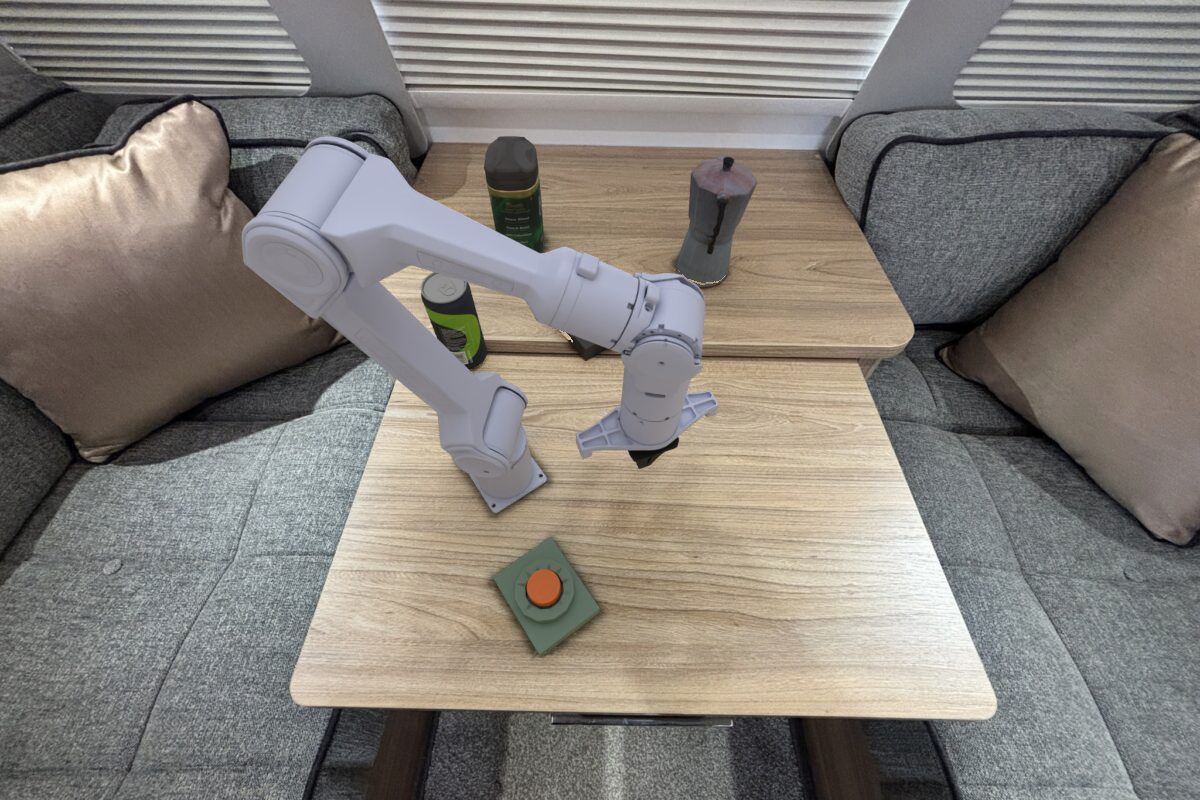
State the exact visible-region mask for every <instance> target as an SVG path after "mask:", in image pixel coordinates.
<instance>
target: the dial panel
mask: <svg viewBox="0 0 1200 800" xmlns="http://www.w3.org/2000/svg"><path fill="white" fill-rule="evenodd" d="M567 334H568V335H569V336H570V337H571V339H572V340H573V343H572V342H571V340H567V339H566V341H567V342H568V343H569V344H570V345H571V347H573V349H574V350H575V351H576V352H577V354H579V356H580V357H581V358H582V359H583V360H584V361H585V362H587V361H589V360H591V359H593V358H594V357H596V356H597V355H599V354H601V353H603V352H605V351H606V350H609V349H608V348H605V347H603V346H600V345H597V344H595V343H592V342H590V341H587V340H584V339H582V338H579V337H576V336H574V335H571V334H569V333H567Z"/></svg>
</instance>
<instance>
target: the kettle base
mask: <svg viewBox="0 0 1200 800" xmlns="http://www.w3.org/2000/svg"><path fill="white" fill-rule="evenodd" d="M542 569H547V570H550V571H552V572H554V573H555V574H556V575H557V576H558V578H559V581H560V585H561V593H560V596H559V598H558V599H557V601H556V602H555V603H554V604H552V605H550V606H547V607H540V606H537V605H536V604H534V603H533V602H532V601H531V599H530V597H529V595H528V593H527V582H528V580H529V578H530V576H531V575H532V574H533V573H534V572H536V571H538V570H542ZM492 579H493V581H494V582H495V584H496V586H497V588H498V589H499V591H500V593H501V594H502V596H503V597H504V599H505V601H506V602H507V604H508V606H509V607H510V609H511V611H512V613H513V614H514V615H515V618H516V619H517V621H518V622H519V625H520V626H521V627H522V629H523V630H524V633H525V634H526V636H527V637H528V639H529V641H530V642H531V645H532V646H533V647H534V649H535V651H536V652H537V654H538V656H539V657H540V658H543V656H545V655H547V654H548V653H549V652H550V651H551V650H553V649H555V647H557V646H558V645H559V644H561V643H562V642H563V641H565V640H566V639H567V638H569V637H570V636H571V635H572V634H574V633H575V632H577V631H578V630H579V629H580V628H582V627H583V626H584V625H586V624H587V623H588V622H590V621H591V620H592V619H594V618H595V617H596V616H598V615H599V614H600V613H601V608H600V606H599V605H598V603H597V602H596V600H595V599H594V597H593V596H592V594H591V593H590V591H589V590H588V588H587V587H586V586H585V584H584V582H583V581H582V579H581V578H580V577H579V575H578V574H577V572H576V571H575V569H574V568H573V567H572V564H570V562H569V561H568V559H567V558H566V556H565V555H564V554H563V552H562V551H561V549H560V547H559V546H558V545H557V543H556V541H555V540H554V539H553V537H552V536H551V537H548V538H547V539H545V540H544V541H543V542H542V543H540V544H538V545H537V546H535V547H534V548H532V549H531V550H529V551H528V552H527V553H525V554H524V555H522V556H521V557H519V558H518V559H516V560H514V561H513V562H512V563H511V564H508V566H506V567H504V568H503V569H502V570H500V571H499V572H497V573H496V574H494V575H493V576H492ZM545 652H546V653H545Z"/></svg>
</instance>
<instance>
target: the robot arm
mask: <svg viewBox="0 0 1200 800" xmlns="http://www.w3.org/2000/svg"><path fill="white" fill-rule="evenodd" d="M241 245H242V246H241V247H242V258H243V259H242V260H243V264H244V265H245V266H246V267H248V268H249V269H250V270H251V271H253V272H254V273H255V274H256V275H257V276H259V277H260V278H261V279H262V280H263V281H264V282H266V283H267V284H268V285H269V286H271V287H272V288H273V289H275V290H276V291H277V292H278V293H279V294H281V295H282V296H283V297H285V298H286V299H287V300H288V301H290V302H291V303H292V304H293V305H294V306H296V307H297V308H298V309H300V310H301V311H302V312H303V313H305V315H307V316H309V317H310V318H312V319H313V320H314V319H318V318H321V319H323V321H325V322H326V323H328V324H329V325H330V326H331V327H332V328H334V329H335V330H336V331H337V332H338V333H339V334H341V335H342V336H343V337H344V338H345V339H347V340H348V341H349V342H350V343H352V344H353V345H354V346H355V347H357V348H358V349H359V350H360V351H362V352H363V353H364V354H365V355H367V356H368V357H369V358H370V359H371V360H373V361H374V362H375V363H376V364H377V365H378V366H380V368H382V369H384V371H386V372H387V373H388V374H389V375H391V377H393V378H394V379H396V381H398V382H399V383H400V384H402V385H403V386H404V387H405V388H406V389H408V390H409V391H410V392H411V393H412V394H414V395H415V396H416V397H417V398H418V399H420V400H421V401H423V402H424V403H425V404H426V405H427V406H428V407H429V408H430V409H432V410H433V411H434V412H436V415H437V423H438V435H439V445H440V448H441V449H442V450H444V451H445V452H446V453H448V454H449V456H450V457H451V460H452V461H453V463H454V464H455V465H456V466H457V468H458V469H460V470H461V471H463V472H464V473H467V474H468V476H469V477H470V479H471V480H472V482H473V484H474V485H475V487H476V488H477V491H479V493H480V494H481V496H482V498H483V499H484V501H485V502H486V504H487V505H488V507H489V509H490V510H491V512H492V513H493V514H498V513H500V512H502V511H503V510H504V509H506V508H508V507H510V506H511V505H513V504H514V503H515V502H517V501H519V500H520V499H522V498H524V497H525V496H527V495H528V494H530V493H531V492H533V491H534V490H536V489H538V488H539V487H541V486H542V485H544V484H545V483H547V481H548V478H547V476H546V474H545V473H544V471H543V470H542V469H541V467H540V466H539V465H538V463H537V462H536V460H535V459H534V458H533V456H532V455H531V451H530V446H529V442H528V438H527V434H526V429H525V428H524V426H523V423H522V421H523V418H524V414H525V410H526V409H528V404H529V400H528V396H527V395H526V394H525V393H524V391H522V390H521V389H520V388H519V387H518V386H516V385H515V384H513V383H511V382H508V381H507V380H505V379H504V378H503V377H501V376H500V374H498V372H495V371H478V372H472V370H469V369H468V368H467V367H466V366H465V365H464V364H463V363H462V362H460V361H459V360H458V359H457V358H456V357H455V356H454V355H453V354H452V353H451V352H450V351H449V350H448V349H447V348H446V347H445V346H444V345H443V344H442V343H441V342H440V341H439V340H438V339H437V337H436V335H435V334H433V333H432V332H431V331H430V330H429V329H428V327H426V326H425V325H424V324H423V323H422V322H421V321H420V320H419V319H418V318H417V317H416V316H415V315H414V314H413V313H412V312H411V311H410V310H409V309H408V308H407V307H406V306H404V304H403V303H402V302H401V301H400V300H399V299H398V298H397V297H396V296H395V295H394V294H393V293H392V292H391V291H390V290H389V289H387V288H386V287H385V285H383V283H381V281H384V280H385V279H387V278H389V277H391V276H393V275H395V274H397V273H399V272H400V271H402V270H404V269H407V268H408V267H411V266H412V267H416V268H419V269H423V270H426V271H429V272H431V273H433V272H435V273H439V274H442V275H445V276H449V277H452V278H455V279H458V280H462V281H465V282H468V283H469V284H472V285H476V286H477V287H478V286H479V287H482V288H485V289H488V290H492V291H495V292H498V293H501V294H505V295H507V296H511V297H514V298H518V299H521V300H524V302H525V303H526V304H527V306H528V307H529V310H530V312H531V314H532V315H533V317H534V319H535V321H537V323H540V324H542V325H544V326H548V327H550V328H553V329H555V330H558V331H559V330H561V331H563V332H566V333H569V334H571V335H574V336H576V337H579V338H582V339H584V340H587V341H590V342H592V343H595V344H597V345H600V346H603V347H605V348H608V349H607V350H610V351H613V352H616V353H618V354H620V358H621V362H622V365H623V366H624V367H623V377H622V378H623V379H622V389H621V390H622V391H621V398H620V400H621V401H620V404H619V405H618V406H616V407H614V409H612V410H611V411H609V412H608V413H606V414H605V415H604V416H602V417H601V418H600V419H599V420H597V421H596V422H595V423H593V424H592V425H591V426H589V427H587V428H586V429H583V430H581V431H578V432H575V444H576V446H577V449H578V452H579V455H580V457H581V459H582V460H585V459H588V458H592V456H593V452H598V451H627V452H628V455H629V457H630V458H631V460H632V461H633V462H634V463H635V464H636V466H637V469H638V470H641V469H644V468H647V467H650V466H651V465H652V464H654V463H655V462H656V460H657V459H658V458H660V457H661V456H662V455H663V454H665V453H666V452H669V451H672V450H675V449H677V448H678V447H679V443H680V436H681V435H682V434H683V433H685V432H686V431H687V430H688V429H689V428H691V427H692V426H693V425H695V424H696V423H697V422H698V421H699V420H701V419H702V418H703V417H705V418H710V417H713V416H716V414H717V411H718V409H719V407H720V403H719V402H718V400H717V399H716V397H715V395H714V393H713V392H712V390H711V389H708V390H704V391H698V392H689V388H690V385H691V380H692V379H694V378H696V376H698V375H699V374H700V372H701V371H702V369H703V364H701V362H702V358H703V357H702V356H703V347H704V346H703V345H704V332H705V331H704V330H705V320H706V319H705V318H706V297H705V295H704V292H703V291H702V289H701V287H700V286H697V285H696V284H695V283H693V282H692V281H690V280H688V279H686V278H685V277H684V276H683V275H679V274H678V273H671V272H664V273H663V272H662V273H656V274H651V273H648V272H647V273H646V272H644V271H642V272H635V273H634V274H632V273H630V272H628V271H625V270H623V269H620V268H618V267H616V266H613V265H611V264H609V263H607V262H604V261H602V260H600V258H599V257H597V256H594V255H592V254H589V253H587V252H580V251H579V250H575V249H573V248H571V247H568V246H564V245H563V246H560V247H557V248H554V249H552V250H549V251H546V252H544V253H538V252H536V251H534V250H532V249H530V248H528V247H526V246H524V245H522V244H520V243H518V242H516V241H514V240H512V239H510V238H508V237H506V236H504V235H502V234H500V233H498V232H496V231H495V229H492V228H491V227H488V226H486V225H485V224H482V223H481V222H478V221H476V220H474V219H472V218H470V217H468V216H466V215H465V214H462V213H461V212H458V211H456V210H455V209H453V208H451V207H448V206H447V205H445V204H442V203H440V202H439V201H436V200H435V199H432V198H430V197H428V196H426V195H425V194H423V193H421V192H419V191H417V190H415V189H414V188H413V187H412V186H411V185H410V184H409V183H408V181H407V180H406V179H405V177H404V176H403V174H402V173H401V171H399V169H398V168H397V166H396V165H395V164H394V162H393V161H392V160H391V159H390V158H387V157H385V156H383V155H378V154H375V153H372V152H369V151H368V150H366V149H365V148H363V147H362V146H360V145H358V144H357V143H354V142H353V141H350V140H347V139H345V138H342V137H337V136H331V135H330V136H329V135H328V136H327V135H325V136H319V137H317V138H314V139H313V140H311V141H309V143H308V144H307V145H306V146H305V147H304V149H303V152H302V155H301V157H300V158H299V160H298V161H297V162H296V164H295V165H294V166H293V167H292V168H291V170H290V171H289V172H288V174H287V175H286V177H284V179H283V181H281V183H280V184H279V186H278V187H277V188H276V190H274V192H273V194H271V196H270V198H269V199H268V200H267V202H266V203H265V204H264V205H263V206H262V208H261V209H260V210H259V212H258V213H257V215H255V216H254V217H253V218H252V219H251V220H249V221H248V222H247V223H246V224H245V226H243V229H242V231H241ZM540 476H542V477H540ZM493 506H494V507H493Z"/></svg>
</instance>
